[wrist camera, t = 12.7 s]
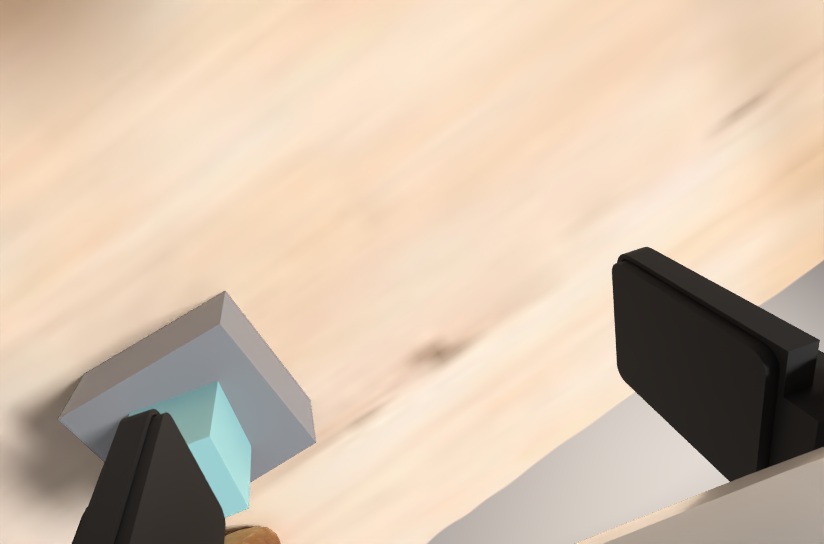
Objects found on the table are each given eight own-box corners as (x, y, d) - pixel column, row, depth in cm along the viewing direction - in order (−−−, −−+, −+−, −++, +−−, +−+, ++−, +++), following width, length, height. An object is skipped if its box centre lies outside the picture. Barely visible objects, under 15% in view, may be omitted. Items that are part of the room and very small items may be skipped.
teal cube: (129, 413, 36) (105, 475, 30) (217, 380, 36) (209, 436, 31) (169, 477, 38) (153, 546, 33) (251, 446, 39) (249, 508, 33)
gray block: (85, 371, 40) (57, 419, 35) (225, 288, 40) (219, 323, 35) (186, 471, 45) (176, 527, 40) (310, 397, 46) (316, 442, 40)
